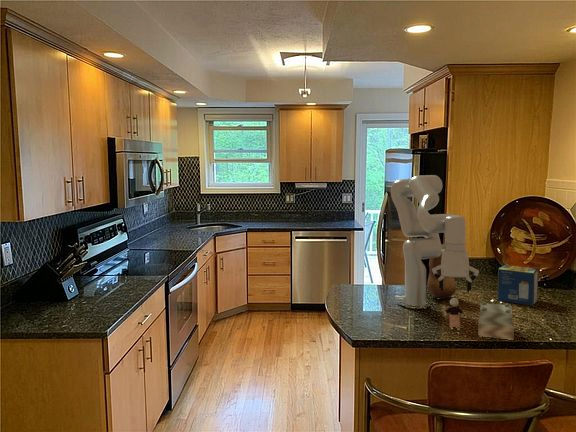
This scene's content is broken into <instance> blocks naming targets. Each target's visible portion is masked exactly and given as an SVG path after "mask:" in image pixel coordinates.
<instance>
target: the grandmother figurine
mask: <svg viewBox="0 0 576 432" xmlns="http://www.w3.org/2000/svg"><path fill="white" fill-rule="evenodd" d="M459 303H460V301H459V299H458V298H457V297H451V299H450V300H449V304H450V305H451V306H450V307H448V308H447V309H445V312H444V314H443V316H444V317H447V315H448V314H449V327H450V326H451V327H460V328H461V319H460V315H461V317H462V318H465V317H466V316H465V314H464V311H463V310H462V309H461V307H458V305H459Z"/></svg>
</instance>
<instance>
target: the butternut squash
mask: <svg viewBox="0 0 576 432" xmlns="http://www.w3.org/2000/svg"><path fill="white" fill-rule="evenodd" d="M444 250H445V249H444V248H442V252H441V255H440V256H439V257H437V258H429V262H428V268H429V273H428V278H427V280H426V287H427V289H428V291H429V292H430V294H432V296H435V297H436V298H440V299H439V300H442V299H443V298H445V299H447V298H449V297H452V296H453V295H454V294H455V292H456V291H457V283H456V280H455V277H444V278H443V291H441V288H439V280H438V279H437V278H436V277H435V275H434V273H433V272H432V268H435V267H437V266H439V265H441V260H442V253H443V251H444ZM437 273H438V274H439V275H441V269H439V270H437ZM435 297H434V298H435Z"/></svg>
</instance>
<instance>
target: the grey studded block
mask: <svg viewBox="0 0 576 432" xmlns="http://www.w3.org/2000/svg"><path fill="white" fill-rule="evenodd" d="M513 314H514V313H513V309H512V305H511V304H509V303H504V304H496V303H487V302H486V301H482V302H480V303H479V314H478V317H477V318H478V323H477V324H478V325H477V326H478V327H477V330H478V331H477V333H478V335H481V336H487V337H494V338H501V339H508V340H514V341H515V339H514V338H515V326H514V321H513V320H514V318H513V316H514V315H513ZM478 335H477V336H478ZM508 340H507V341H508Z"/></svg>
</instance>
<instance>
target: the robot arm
mask: <svg viewBox="0 0 576 432" xmlns="http://www.w3.org/2000/svg"><path fill="white" fill-rule="evenodd" d="M442 189H443V181H442V179H441V178H440V177H439V176H438V175H436V174H430V175H429V174H426V175H415V176H413V177H411V178H402V179H396V180H395V181H393V182H392V184H391V186H390V197H391V200H392V202H393V205H394V207H395V208H396V209H395V210H396V211H397V215H398V220H399V224H400V228H401V232H402V234H403V236H405V237H406V238H409V237H410V239H407V240H405V241H404V242H403V244H402V253H403V259H404V295H401V296H400V295H395V297H394V298H395V300H396V301H397V302H401V303H402V302H403V303H406V304H408V305H412V306H424V305H426V302H427V268H426V265H425V264H424V262H423V261H422V260H427V259H429V260H430V258H437V257H439V256H440V255H441V252H442V248H444V249H445V250H444V251H443V253H442V260H441V265H439V266H437V267H435V268H432V272H433V273H434V275H435V277H436V278H437V279H438V280H439V288H441V291H443V278H444V277H454V278H457V279H458V278H459V279H461V278H462V279H463V278H465V279H466V280H467V281H466V283H467V284H466V292H467V293H470V291H472V282H473V281H474V280H475V279H477V277H478V275H479V274H480V271H479V269H476V268H475V267H473V266H470V261H469V260H470V259H469V253H468V251H467V250H466V218H465V217H464V216H462V215H456V214H453V213H438V214H437V213H434V214H430V213H429V211H430V210H432V209H434V208H435V207H436V206H437V205H438V203H439V202H440V196H439V194H440V193H441V192H442ZM409 198H415V199H416V201H417V203H418V206H417V208H416V205H414V203H413V201H412V200H410V199H409ZM441 233H444V243H442V242H441V239H440V234H441ZM418 237H419V238H418ZM439 269H441V275H439V274H438V273H437V270H439ZM470 271H471V272H472V273H473V275H470Z"/></svg>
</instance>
